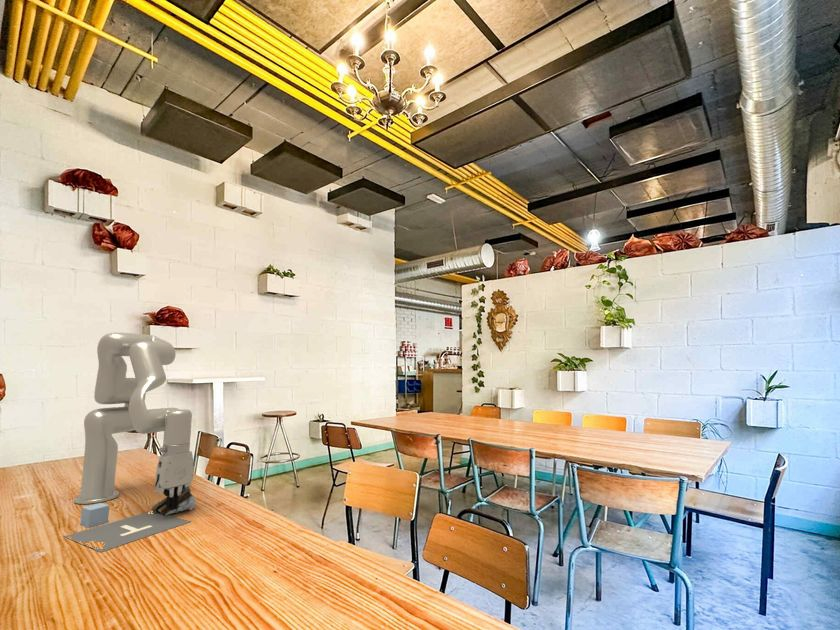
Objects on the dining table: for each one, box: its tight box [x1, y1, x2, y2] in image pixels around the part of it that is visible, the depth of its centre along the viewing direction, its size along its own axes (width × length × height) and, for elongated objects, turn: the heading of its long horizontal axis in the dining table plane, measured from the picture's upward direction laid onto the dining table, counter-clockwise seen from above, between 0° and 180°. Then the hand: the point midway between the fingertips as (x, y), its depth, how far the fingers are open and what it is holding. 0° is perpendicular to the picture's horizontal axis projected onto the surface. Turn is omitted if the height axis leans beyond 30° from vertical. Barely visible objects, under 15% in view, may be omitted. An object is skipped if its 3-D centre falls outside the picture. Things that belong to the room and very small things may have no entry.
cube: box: [79, 502, 111, 529], centre depth 124 cm, size 5×5×5 cm
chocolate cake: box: [151, 485, 196, 515], centre depth 135 cm, size 10×7×12 cm
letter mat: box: [63, 511, 192, 553], centre depth 120 cm, size 20×24×1 cm
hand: (171, 508), depth 130 cm, fingers closed
